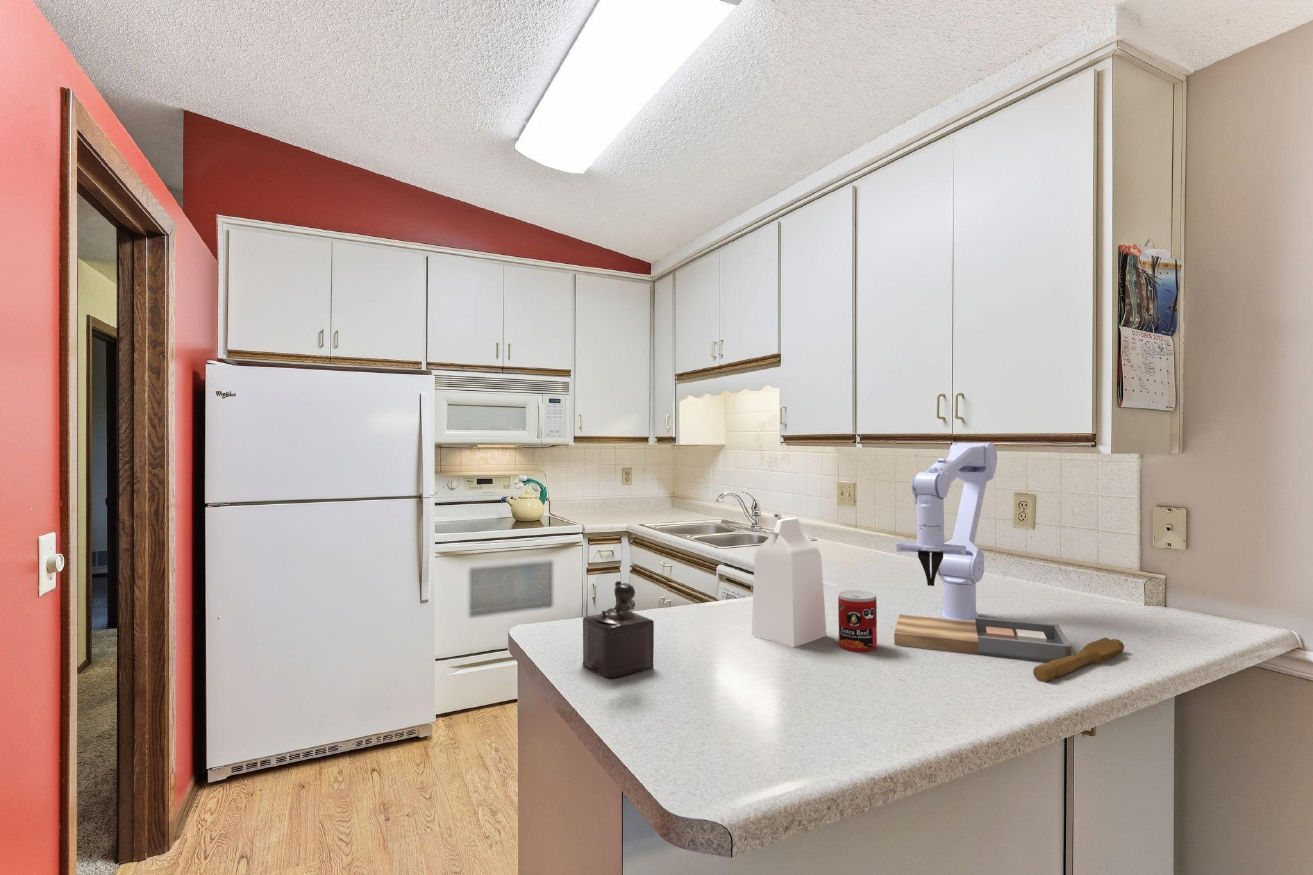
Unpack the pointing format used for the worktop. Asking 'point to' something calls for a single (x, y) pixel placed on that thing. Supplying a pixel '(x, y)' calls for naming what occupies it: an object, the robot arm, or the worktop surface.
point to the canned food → (857, 620)
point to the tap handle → (1079, 659)
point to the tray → (1022, 641)
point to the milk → (788, 587)
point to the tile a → (999, 633)
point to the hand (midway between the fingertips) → (930, 584)
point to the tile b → (1030, 636)
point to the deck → (937, 634)
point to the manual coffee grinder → (618, 638)
